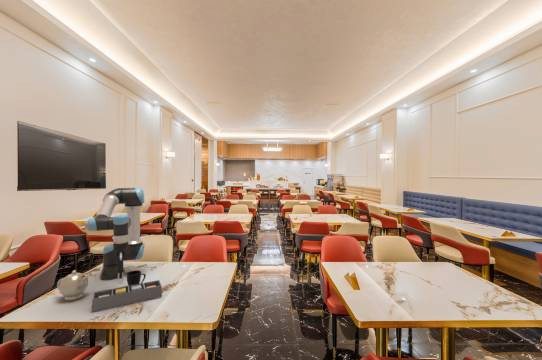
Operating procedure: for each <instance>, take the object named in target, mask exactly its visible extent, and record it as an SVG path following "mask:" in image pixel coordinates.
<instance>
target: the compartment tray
mask: <svg viewBox="0 0 542 360" xmlns="http://www.w3.org/2000/svg"><path fill="white" fill-rule="evenodd" d="M140 283H141V282H140ZM140 283H139V284H136V285H130V286H128V285H126V286H122V287H116V288H111V289H105V290H104V289H103V290H99V291H94V292H93V294H92V298H91V299H92V300H91V312H92V313H96V312H100V311H105V310H111V309H114V308H119V307H122V306H128V305H131V304H137V303H142V302H145V301H150V300H154V299H155V300H156V299H160V298H162V297H163V296H162V293H163V291H162V290H163V289H162V287H163V285H162V284H161V281H160V279H158V280H153V281H148V282H147V281H146V282H143V283H141V284H140ZM137 285H141V287H142V289H140V290H135V291H131V287H132V286H137ZM154 285H156V286H155V287H150V288H146V287H149V286H154ZM122 288H126V292H125V293H120V294H116V289H122ZM108 294H109V296H105V297H100V298H99V296H103V295H108Z"/></svg>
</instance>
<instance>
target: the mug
mask: <svg viewBox="0 0 542 360" xmlns="http://www.w3.org/2000/svg"><path fill="white" fill-rule="evenodd" d="M142 276H143V277H142ZM146 276H147V275H146V273H142V271H141V270H130V271H129V272H127V273H126V282H127V286H130V285H136V284H141V283H144V281H145V280H146ZM141 277H142V281H141Z"/></svg>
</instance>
